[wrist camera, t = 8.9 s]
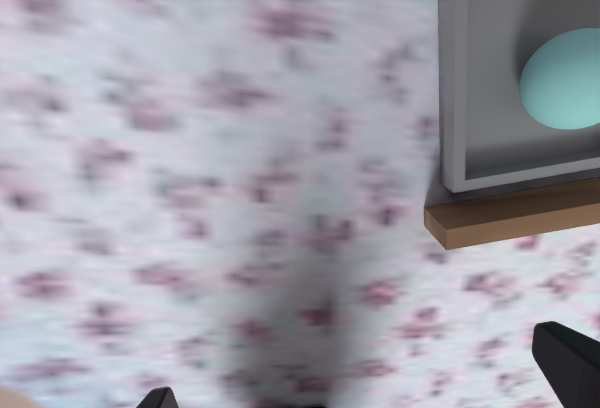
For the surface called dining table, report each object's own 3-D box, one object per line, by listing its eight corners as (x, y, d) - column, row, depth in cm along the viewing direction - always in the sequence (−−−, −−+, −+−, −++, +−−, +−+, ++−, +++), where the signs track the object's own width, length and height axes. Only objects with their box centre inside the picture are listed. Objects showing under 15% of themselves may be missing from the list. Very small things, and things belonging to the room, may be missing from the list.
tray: (609, 153, 22) (636, 161, 20) (440, 182, 21) (453, 192, 20) (643, -49, 18) (679, -59, 16) (438, -14, 18) (454, -21, 16)
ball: (572, 113, 20) (657, 127, 16) (497, 128, 20) (565, 146, 16) (582, 25, 19) (680, 14, 14) (501, 39, 18) (578, 33, 14)
